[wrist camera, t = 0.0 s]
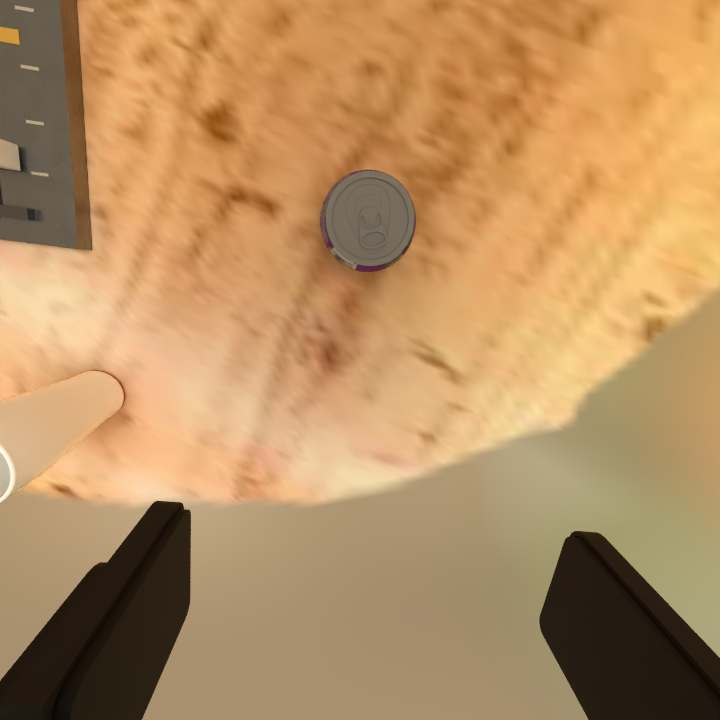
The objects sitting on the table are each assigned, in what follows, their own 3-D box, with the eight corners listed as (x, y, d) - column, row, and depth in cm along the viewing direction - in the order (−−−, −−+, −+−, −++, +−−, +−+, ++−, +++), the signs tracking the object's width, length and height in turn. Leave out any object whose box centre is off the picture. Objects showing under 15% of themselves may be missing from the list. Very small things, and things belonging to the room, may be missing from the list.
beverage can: (400, 262, 37) (427, 263, 26) (332, 274, 37) (329, 280, 26) (390, 188, 35) (414, 154, 24) (319, 201, 35) (308, 172, 24)
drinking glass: (136, 422, 40) (23, 511, 26) (73, 419, 40) (-79, 510, 26) (130, 364, 39) (4, 425, 24) (63, 361, 38) (-105, 422, 24)
